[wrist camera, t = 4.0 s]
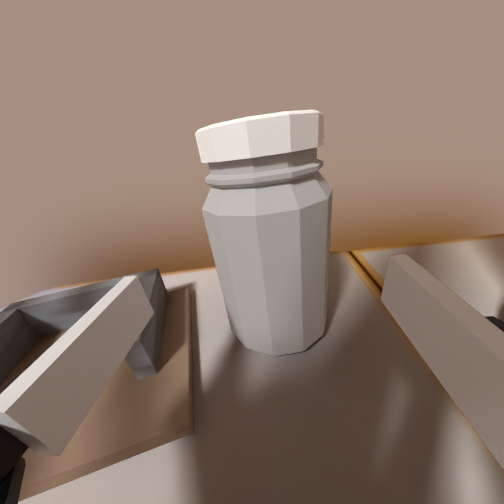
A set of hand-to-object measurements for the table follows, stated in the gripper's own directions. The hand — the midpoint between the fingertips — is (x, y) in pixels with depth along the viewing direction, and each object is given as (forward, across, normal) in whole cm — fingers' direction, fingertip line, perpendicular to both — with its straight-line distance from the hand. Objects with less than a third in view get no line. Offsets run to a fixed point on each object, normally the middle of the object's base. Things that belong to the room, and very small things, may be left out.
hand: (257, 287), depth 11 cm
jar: (+7, +1, -10) cm, 12 cm away
